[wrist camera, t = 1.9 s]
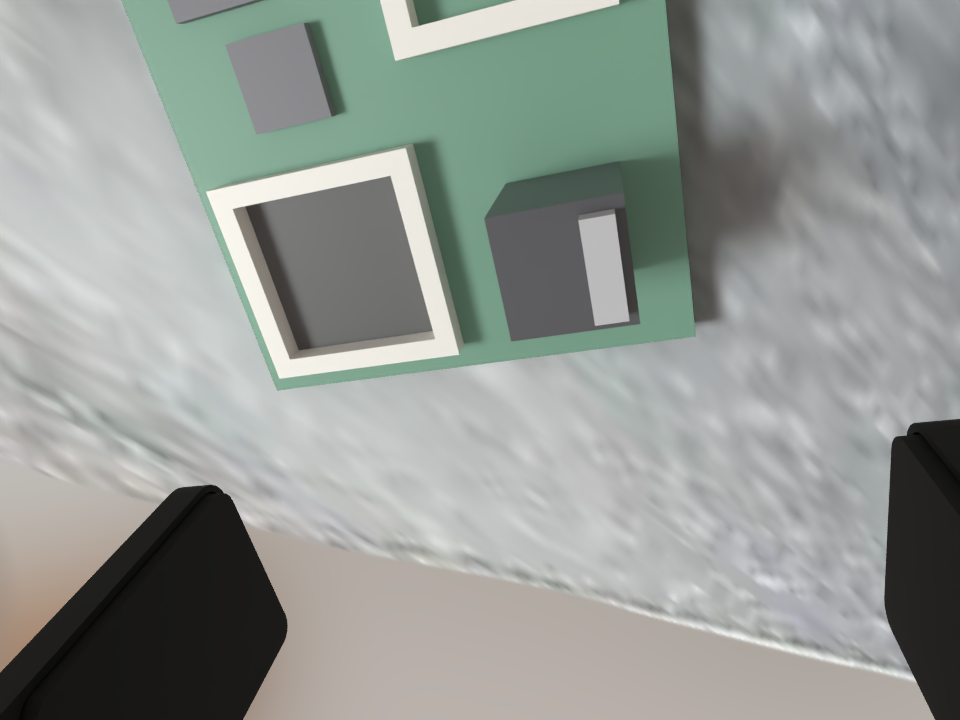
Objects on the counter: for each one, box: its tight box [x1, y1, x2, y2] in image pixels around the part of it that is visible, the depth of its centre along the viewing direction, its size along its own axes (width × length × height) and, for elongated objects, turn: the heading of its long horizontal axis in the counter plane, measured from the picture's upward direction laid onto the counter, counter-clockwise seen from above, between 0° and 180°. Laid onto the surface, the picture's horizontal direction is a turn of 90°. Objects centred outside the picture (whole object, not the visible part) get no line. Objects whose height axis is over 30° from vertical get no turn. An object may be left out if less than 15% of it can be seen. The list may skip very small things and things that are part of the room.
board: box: [122, 0, 696, 390], centre depth 23 cm, size 18×18×2 cm
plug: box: [484, 161, 640, 342], centre depth 21 cm, size 4×4×6 cm
